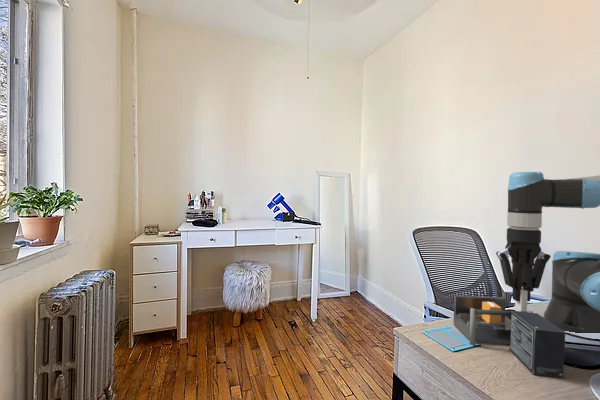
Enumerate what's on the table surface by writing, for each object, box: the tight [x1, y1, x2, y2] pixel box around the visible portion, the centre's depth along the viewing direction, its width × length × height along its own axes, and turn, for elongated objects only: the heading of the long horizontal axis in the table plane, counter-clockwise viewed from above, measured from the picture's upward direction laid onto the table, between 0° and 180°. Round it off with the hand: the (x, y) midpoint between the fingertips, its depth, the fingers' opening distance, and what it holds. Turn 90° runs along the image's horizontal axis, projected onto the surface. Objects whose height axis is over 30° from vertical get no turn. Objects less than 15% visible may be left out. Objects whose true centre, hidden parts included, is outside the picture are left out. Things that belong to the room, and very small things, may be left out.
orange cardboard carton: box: [482, 302, 501, 323], centre depth 81 cm, size 3×4×5 cm
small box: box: [509, 310, 566, 379], centre depth 68 cm, size 11×6×10 cm, turn 168°
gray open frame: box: [469, 308, 534, 347], centre depth 76 cm, size 15×1×10 cm, turn 84°
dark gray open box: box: [453, 294, 511, 346], centre depth 82 cm, size 14×10×9 cm
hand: (520, 312), depth 80 cm, fingers closed
